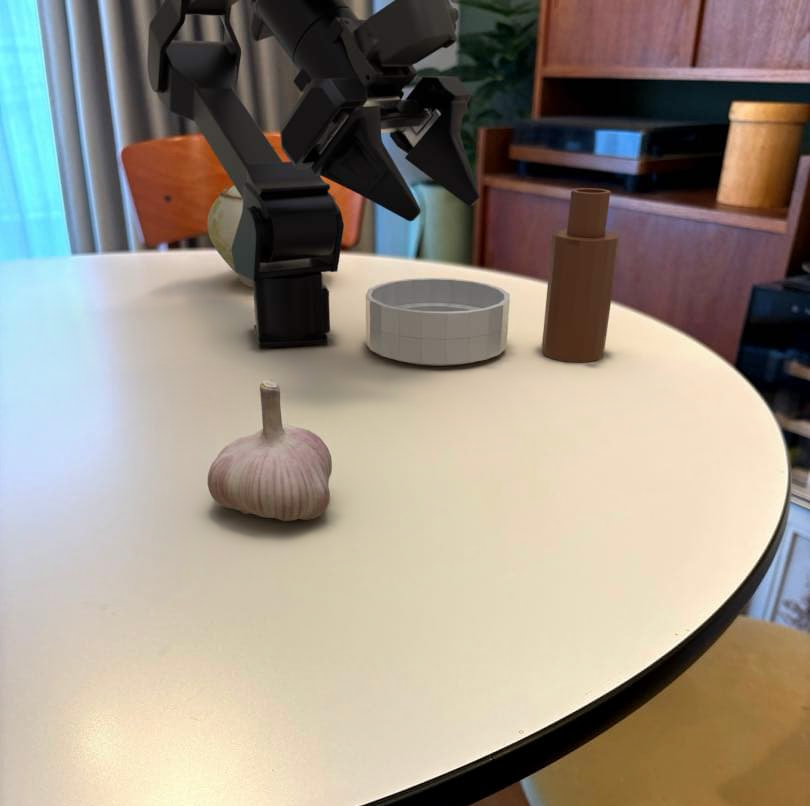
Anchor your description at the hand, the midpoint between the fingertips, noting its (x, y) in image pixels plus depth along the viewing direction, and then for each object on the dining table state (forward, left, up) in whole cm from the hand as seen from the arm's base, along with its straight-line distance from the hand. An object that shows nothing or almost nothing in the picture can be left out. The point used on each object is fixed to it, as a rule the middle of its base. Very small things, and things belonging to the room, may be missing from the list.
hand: (447, 209), depth 63 cm
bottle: (+14, +5, -14) cm, 20 cm away
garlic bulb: (-16, -20, -14) cm, 29 cm away
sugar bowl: (-10, +39, -14) cm, 43 cm away
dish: (+2, +9, -14) cm, 16 cm away
